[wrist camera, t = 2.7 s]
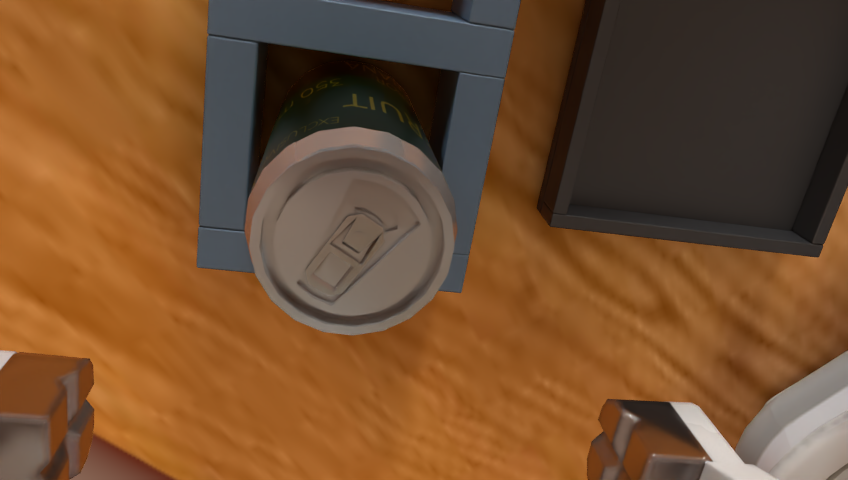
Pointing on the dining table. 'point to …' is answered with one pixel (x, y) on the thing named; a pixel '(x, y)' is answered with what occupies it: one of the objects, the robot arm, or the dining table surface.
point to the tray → (704, 123)
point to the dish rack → (803, 428)
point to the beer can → (349, 204)
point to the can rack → (362, 37)
